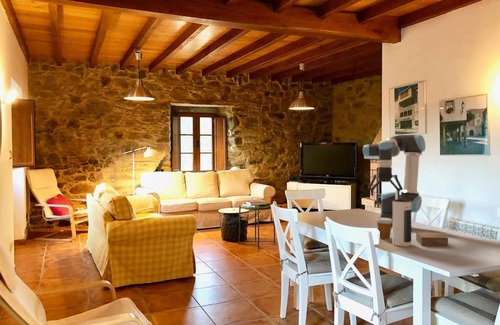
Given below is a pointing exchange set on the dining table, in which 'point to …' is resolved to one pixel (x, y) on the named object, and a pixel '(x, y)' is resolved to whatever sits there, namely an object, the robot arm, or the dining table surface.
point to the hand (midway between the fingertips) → (384, 201)
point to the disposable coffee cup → (384, 227)
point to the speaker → (402, 222)
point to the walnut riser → (431, 239)
